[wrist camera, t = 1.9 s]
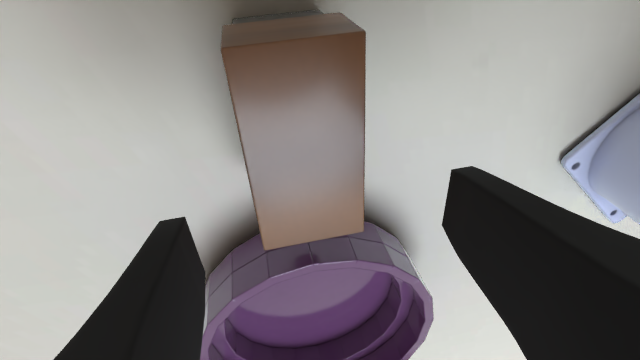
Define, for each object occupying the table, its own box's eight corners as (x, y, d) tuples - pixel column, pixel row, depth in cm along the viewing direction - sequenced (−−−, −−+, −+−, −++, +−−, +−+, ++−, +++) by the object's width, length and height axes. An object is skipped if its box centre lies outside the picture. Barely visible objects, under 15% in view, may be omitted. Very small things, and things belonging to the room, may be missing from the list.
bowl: (445, 263, 27) (476, 309, 23) (319, 367, 31) (329, 418, 28) (295, 171, 19) (308, 219, 16) (159, 323, 24) (149, 384, 21)
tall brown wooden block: (222, 11, 15) (220, 47, 10) (326, 0, 15) (366, 30, 11) (255, 176, 19) (264, 251, 15) (333, 163, 20) (364, 232, 15)
